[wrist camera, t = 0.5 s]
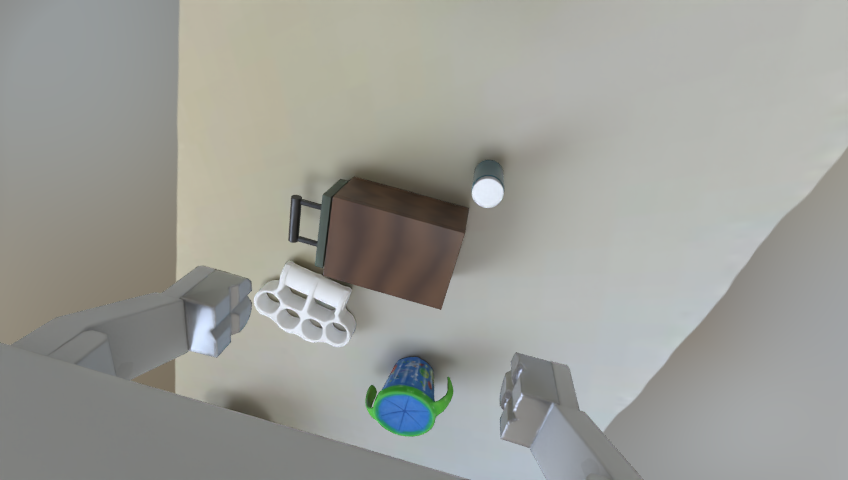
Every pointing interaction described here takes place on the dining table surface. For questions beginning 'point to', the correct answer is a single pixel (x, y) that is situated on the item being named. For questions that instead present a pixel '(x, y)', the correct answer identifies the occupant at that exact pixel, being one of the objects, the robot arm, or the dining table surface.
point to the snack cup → (408, 399)
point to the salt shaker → (488, 184)
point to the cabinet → (394, 241)
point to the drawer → (324, 221)
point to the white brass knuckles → (308, 305)
